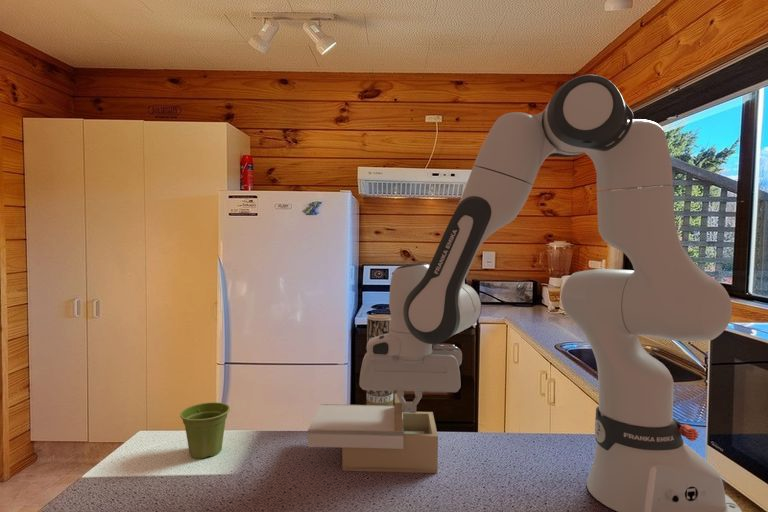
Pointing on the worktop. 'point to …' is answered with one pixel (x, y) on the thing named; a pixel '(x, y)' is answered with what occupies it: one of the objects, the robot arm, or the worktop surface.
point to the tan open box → (400, 450)
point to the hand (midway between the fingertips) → (409, 411)
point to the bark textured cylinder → (375, 328)
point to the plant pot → (205, 428)
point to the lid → (357, 426)
